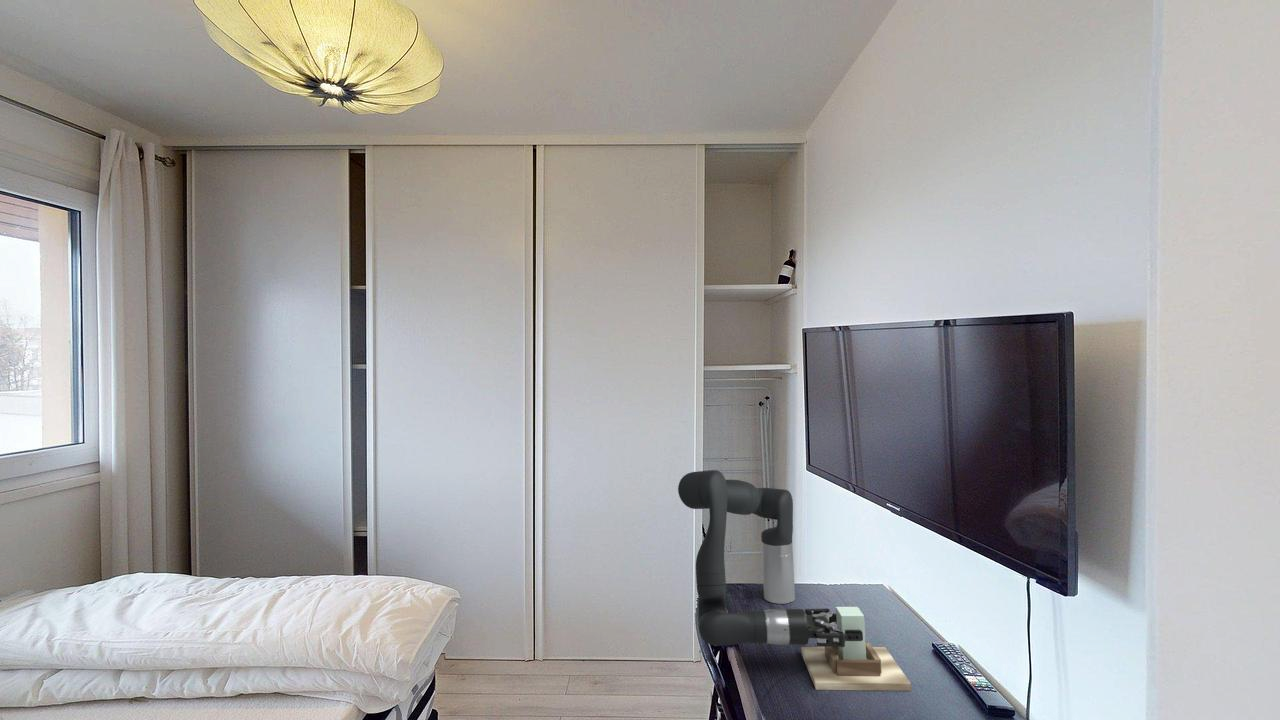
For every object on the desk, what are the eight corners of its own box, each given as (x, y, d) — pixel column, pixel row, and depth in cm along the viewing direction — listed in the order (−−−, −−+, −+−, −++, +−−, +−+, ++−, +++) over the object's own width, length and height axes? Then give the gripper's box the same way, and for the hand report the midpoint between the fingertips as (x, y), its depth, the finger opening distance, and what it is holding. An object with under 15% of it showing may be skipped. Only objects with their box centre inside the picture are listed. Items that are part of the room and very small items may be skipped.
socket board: (801, 653, 138) (800, 634, 138) (885, 653, 136) (884, 634, 136) (815, 689, 122) (814, 668, 122) (911, 690, 120) (910, 669, 121)
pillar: (838, 658, 132) (835, 606, 132) (860, 658, 132) (857, 606, 132) (844, 669, 127) (841, 616, 127) (866, 669, 127) (864, 616, 127)
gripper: (789, 624, 124) (865, 624, 122) (779, 598, 138) (847, 597, 137) (791, 658, 124) (867, 658, 122) (780, 628, 138) (848, 629, 136)
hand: (856, 626), depth 129 cm, fingers open, 8 cm apart
